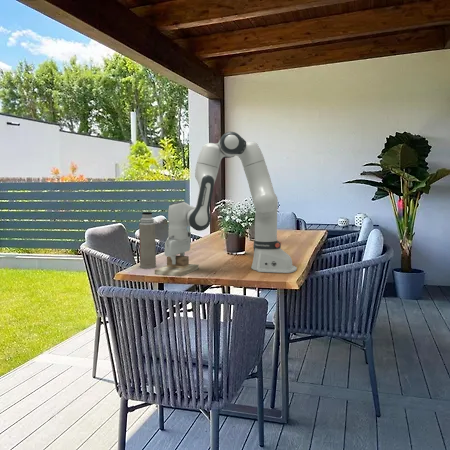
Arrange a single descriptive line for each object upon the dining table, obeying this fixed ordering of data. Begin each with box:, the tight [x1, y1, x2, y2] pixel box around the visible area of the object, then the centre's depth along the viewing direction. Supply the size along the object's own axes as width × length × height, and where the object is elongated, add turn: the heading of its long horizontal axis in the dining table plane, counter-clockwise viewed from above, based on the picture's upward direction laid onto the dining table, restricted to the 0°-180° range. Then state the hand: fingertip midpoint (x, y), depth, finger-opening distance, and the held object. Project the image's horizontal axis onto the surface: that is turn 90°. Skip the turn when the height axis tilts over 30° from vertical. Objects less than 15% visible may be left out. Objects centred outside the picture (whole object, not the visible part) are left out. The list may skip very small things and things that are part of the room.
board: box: [154, 263, 200, 277], centre depth 219 cm, size 14×19×2 cm
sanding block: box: [166, 254, 190, 268], centre depth 220 cm, size 9×6×5 cm, turn 67°
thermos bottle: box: [138, 211, 157, 269], centre depth 229 cm, size 8×8×28 cm
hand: (177, 262), depth 220 cm, fingers closed on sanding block, 5 cm apart
